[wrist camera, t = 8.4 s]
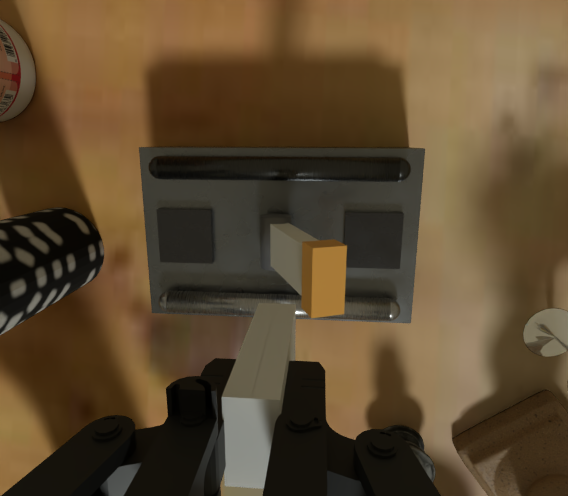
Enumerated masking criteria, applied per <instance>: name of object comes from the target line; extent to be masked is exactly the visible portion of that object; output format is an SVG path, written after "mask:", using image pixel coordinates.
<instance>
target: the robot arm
mask: <svg viewBox="0 0 568 496" xmlns="http://www.w3.org/2000/svg"><path fill="white" fill-rule="evenodd" d="M295 323H296V304H274V303H259V304H258V306H257V309H256V311H255V314H254V316H253V319H252V321H251V324H250V327H249V329H248V332H247V334H246V337H245V339H244V342H243V344H242V347H241V349H240V352H239V354H238V357H237V359H219V358H215V359H214V360H213V361H211V362H210V363H209V364H207V365H206V366H205V368H204V370H203V372H202V373H201V376H192V377H185V378H182V379H178V380H177V381H175V382H173V383H171V384H170V385H169V386H168V387H167V388H166V395H167V408H168V417H167V419H166V421H165V423H164V424H163V425H160V426H155V427H151V428H144V429H138V430H135V424H134V422H133V421H132V419H130V418H128V417H126V416H119V415H114V416H107V417H103V418H101V419H98V420H95V421H93V422H92V423H90V424H89V425H87V426H86V427H84V428H83V429H82V430H81V431H80V432H78V433H77V434H76V435H75V436H73V437H72V438H71V439H70V440H69V441H67V442H66V443H65V444H64V445H63V446H61V447H60V448H59V449H58V450H56V451H55V452H54V453H53V454H52V455H50V456H49V457H48V458H47V459H45V460H44V461H43V462H42V463H41V464H39V465H38V466H37V467H36V468H34V469H33V470H32V471H31V472H30V473H28V474H27V475H26V476H25V477H24V478H22V479H21V480H20V481H19V482H17V483H16V484H15V485H14V486H13V487H11V488H10V489H9V490H8V491H6V492H5V493H4V494H3V495H2V496H221V489H220V484H221V480H222V477H223V474H224V476H225V486H234V487H248V488H260V489H264V491H263V496H441V495H440V494H439V492H438V490H437V489H436V487H435V486H434V484H433V482H432V481H431V479H430V478H429V476H428V475H427V473H426V471H425V470H424V468H423V467H422V465H421V463H420V462H419V460H418V459H417V457H416V455H415V454H414V452H413V451H412V449H411V448H410V446H409V444H408V443H407V442H406V441H405V440H404V439H403V438H402V437H400V436H398V435H397V434H395V433H393V432H390V431H386V430H381V429H371V430H367V431H364V432H362V433H361V434H359V435H358V436H357V437H356V440H353V439H350V438H347V437H344V436H342V435H340V434H338V433H336V432H335V431H334V430H332V429H331V428H330V427H329V425H328V423H327V421H326V407H325V370H324V368H323V367H322V366H321V364H320V363H319V362H307V361H295Z"/></svg>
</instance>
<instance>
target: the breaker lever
mask: <svg viewBox="0 0 568 496" xmlns="http://www.w3.org/2000/svg"><path fill="white" fill-rule="evenodd" d="M346 256H347V245H345V244H343V243H341V242H339V241H337V240H335V239H333V240H318V239H316V238H314V237H312V236H311V235H309V234H307V233H305V232H304V231H302V230H300V229H298V228H297V227H295V226H293V225H291V215H289V214H282V213H270V214H263V215H260V267H261V268H262V269H264V270H269V271H277V272H278V273H279V274H280V275H281V276H282V277H283V278H284V279H285V280H286V281H287V282H288V283H289V284H290V285H291V286H292V287H293V288H294V289H295V290H296V291H297V292H298V293H299V294H300V295H301V296H302V299H301V308H302V309H303V310H304V311H305V312H306V313H307V314H308V315H309V316H310V318H318V317H326V316H333V315H341V314H344V306H345V281H346Z"/></svg>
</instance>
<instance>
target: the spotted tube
mask: <svg viewBox="0 0 568 496" xmlns="http://www.w3.org/2000/svg"><path fill="white" fill-rule="evenodd" d="M103 259H104V247H103V243H102V240H101V237H100V235H99V233H98V231H97V230H96V228H95V227H94V225H93V224H92V223H91V222H90V221H89V220H88V219H87V218H85V217H84V216H83V215H81V214H80V213H78V212H76V211H74V210H70V209H67V208H50V209H46V210H41V211H37V212H33V213H29V214H25V215H21V216H17V217H13V218H9V219H4V220H0V335H2V334H3V333H5V332H7V331H8V330H10V329H12V328H13V327H15V326H17V325H18V324H20V323H22V322H23V321H25V320H27V319H28V318H30V317H32V316H33V315H35V314H37V313H38V312H40V311H42V310H43V309H45V308H47V307H48V306H50V305H52V304H53V303H55V302H57V301H58V300H60V299H62V298H63V297H65V296H67V295H68V294H70V293H72V292H74V291H75V290H77V289H79V288H80V287H82V286H84V285H85V284H87V283H89V282H90V281H92V280H93V279H94V278H95V277H96V276H97V274H98V273H99V271H100V269H101V267H102V264H103Z"/></svg>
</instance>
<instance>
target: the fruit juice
mask: <svg viewBox="0 0 568 496" xmlns="http://www.w3.org/2000/svg"><path fill="white" fill-rule="evenodd" d="M35 84H36V71H35V65H34V61H33V58H32V55H31V52H30V50H29V48H28V46H27V45H26V43H25V42H24V40H23V39H22V37H21V36H20V35H19V34H18V33H17V32H16V31H15V30H14V29H13V28H12V27H11V26H10V25H8V24H7V23H6V22H4V21H2V20H1V19H0V122H3V121H7V120H9V119H12V118H14V117H16V116H17V115H19V114H20V113H21V112H22V111H23V110H24V109H25V108H26V107H27V105H28V104H29V102H30V101H31V99H32V96H33V93H34V90H35Z"/></svg>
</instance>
